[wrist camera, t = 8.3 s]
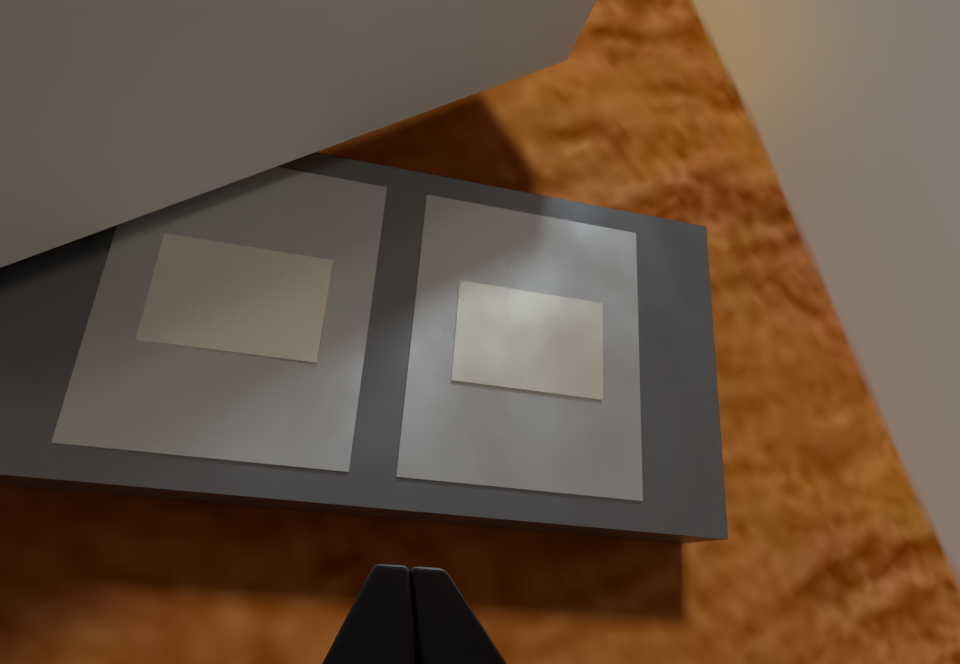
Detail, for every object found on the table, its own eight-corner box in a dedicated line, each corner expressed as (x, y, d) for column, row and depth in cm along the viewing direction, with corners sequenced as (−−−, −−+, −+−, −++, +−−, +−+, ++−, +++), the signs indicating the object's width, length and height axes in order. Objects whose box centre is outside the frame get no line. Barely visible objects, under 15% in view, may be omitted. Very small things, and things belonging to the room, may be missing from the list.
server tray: (682, 543, 21) (732, 538, 18) (-266, 460, 16) (-375, 440, 13) (669, 259, 24) (709, 224, 22) (-106, 121, 19) (-167, 56, 17)
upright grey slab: (-189, 337, 14) (-711, 91, 7) (-249, 192, 15) (-780, -169, 8) (566, 59, 22) (689, -191, 15) (505, -27, 23) (592, -307, 16)
